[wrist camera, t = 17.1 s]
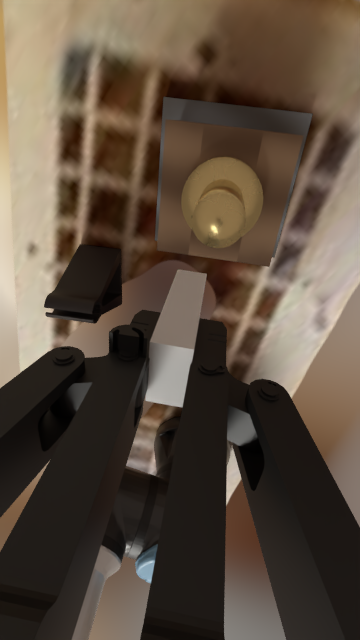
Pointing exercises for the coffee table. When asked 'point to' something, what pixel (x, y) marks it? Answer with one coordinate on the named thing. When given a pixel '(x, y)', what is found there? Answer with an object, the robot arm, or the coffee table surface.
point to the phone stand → (88, 285)
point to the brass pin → (222, 201)
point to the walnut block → (235, 141)
